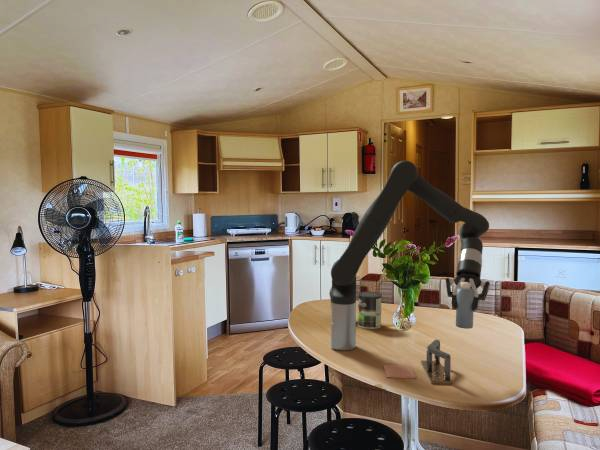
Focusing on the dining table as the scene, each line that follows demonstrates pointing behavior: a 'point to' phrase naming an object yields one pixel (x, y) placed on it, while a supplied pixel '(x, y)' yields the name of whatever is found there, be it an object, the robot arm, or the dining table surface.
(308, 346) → the dining table surface
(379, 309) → the coffee can
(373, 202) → the robot arm
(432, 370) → the dark grey frame
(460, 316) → the bottle
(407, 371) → the mat
